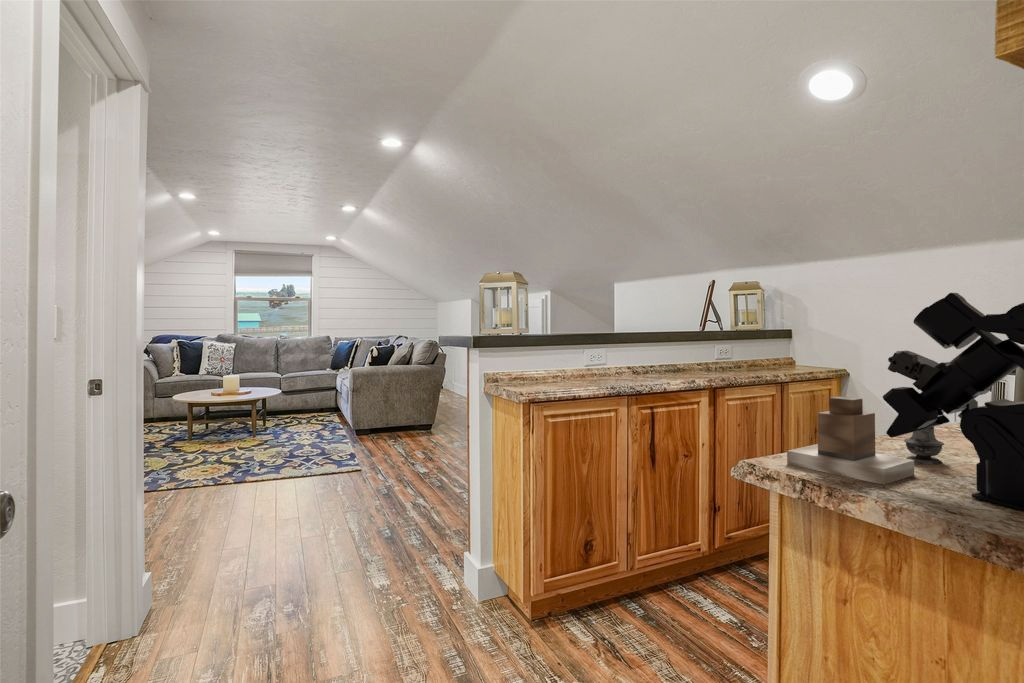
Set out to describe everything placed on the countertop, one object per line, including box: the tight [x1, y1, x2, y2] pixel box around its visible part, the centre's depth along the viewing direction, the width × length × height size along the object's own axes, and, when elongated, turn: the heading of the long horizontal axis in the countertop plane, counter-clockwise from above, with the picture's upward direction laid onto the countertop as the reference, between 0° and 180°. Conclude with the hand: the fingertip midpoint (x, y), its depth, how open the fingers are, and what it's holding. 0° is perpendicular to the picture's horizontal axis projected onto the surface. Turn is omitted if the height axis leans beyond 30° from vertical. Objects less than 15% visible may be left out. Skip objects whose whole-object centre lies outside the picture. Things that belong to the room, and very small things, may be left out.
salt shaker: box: [903, 426, 945, 466], centre depth 97 cm, size 6×6×12 cm
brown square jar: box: [816, 396, 876, 461], centre depth 92 cm, size 6×7×10 cm
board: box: [786, 443, 915, 486], centre depth 92 cm, size 16×10×2 cm, turn 30°
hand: (889, 435), depth 86 cm, fingers closed
